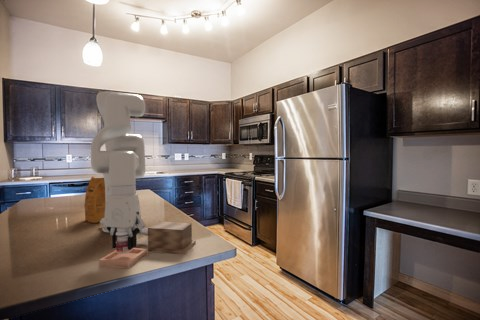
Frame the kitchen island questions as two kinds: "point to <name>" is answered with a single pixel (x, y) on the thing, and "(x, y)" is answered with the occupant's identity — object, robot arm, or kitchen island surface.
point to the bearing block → (168, 238)
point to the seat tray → (123, 258)
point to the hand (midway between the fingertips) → (124, 246)
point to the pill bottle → (122, 241)
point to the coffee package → (95, 200)
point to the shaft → (142, 231)
